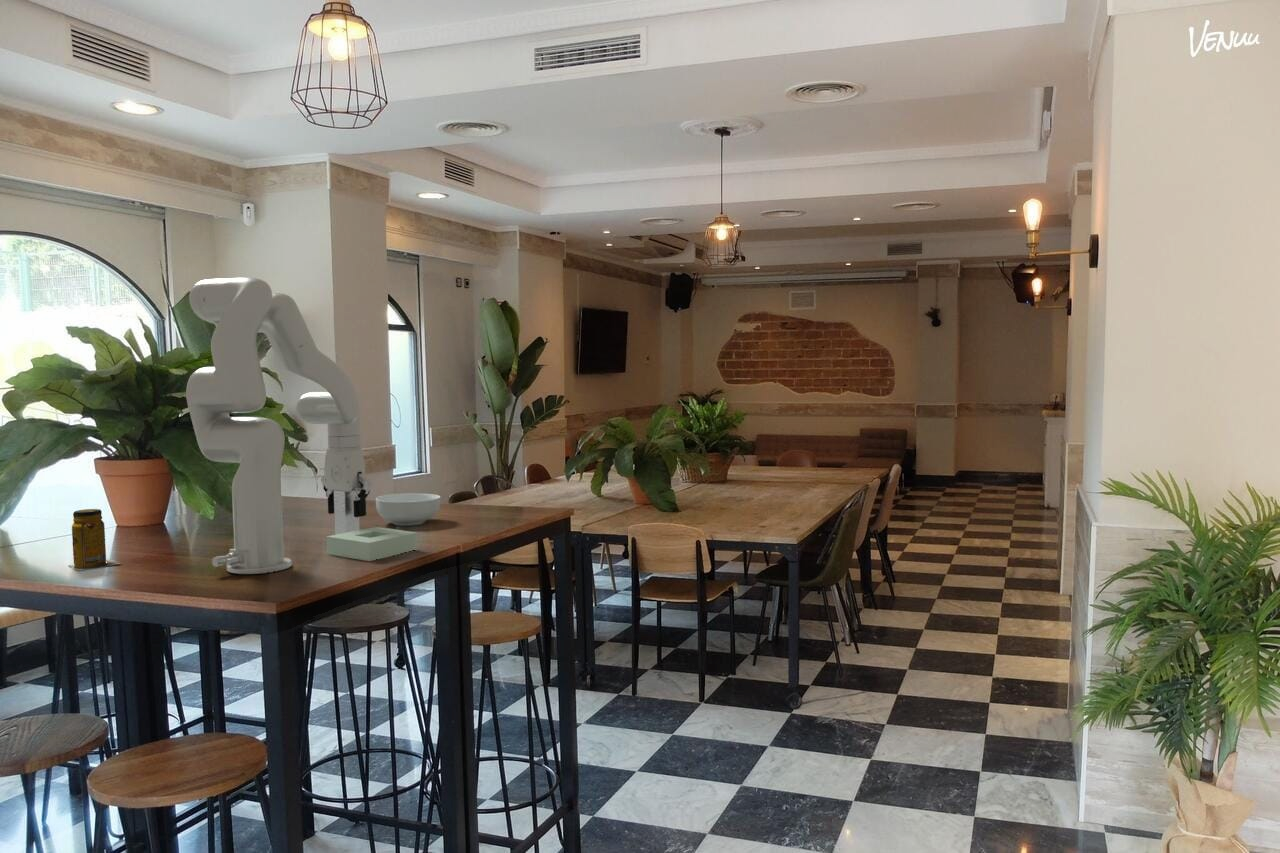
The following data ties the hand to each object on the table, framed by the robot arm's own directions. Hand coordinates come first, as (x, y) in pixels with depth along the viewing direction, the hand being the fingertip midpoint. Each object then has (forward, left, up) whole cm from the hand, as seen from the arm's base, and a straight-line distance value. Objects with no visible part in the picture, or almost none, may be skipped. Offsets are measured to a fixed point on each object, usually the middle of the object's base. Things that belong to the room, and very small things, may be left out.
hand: (347, 514), depth 230 cm
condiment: (-47, +24, -7) cm, 53 cm away
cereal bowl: (+25, +6, -7) cm, 26 cm away
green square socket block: (-6, -16, -6) cm, 18 cm away
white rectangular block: (0, 0, -6) cm, 6 cm away
